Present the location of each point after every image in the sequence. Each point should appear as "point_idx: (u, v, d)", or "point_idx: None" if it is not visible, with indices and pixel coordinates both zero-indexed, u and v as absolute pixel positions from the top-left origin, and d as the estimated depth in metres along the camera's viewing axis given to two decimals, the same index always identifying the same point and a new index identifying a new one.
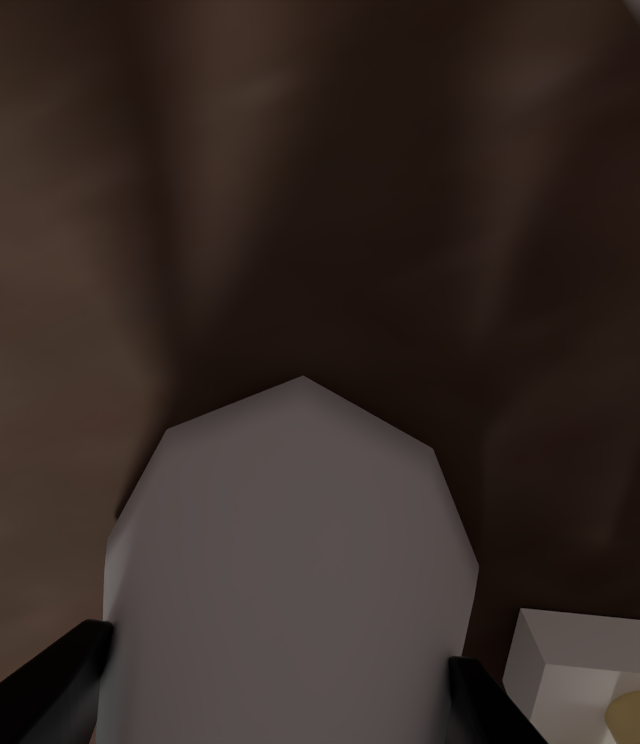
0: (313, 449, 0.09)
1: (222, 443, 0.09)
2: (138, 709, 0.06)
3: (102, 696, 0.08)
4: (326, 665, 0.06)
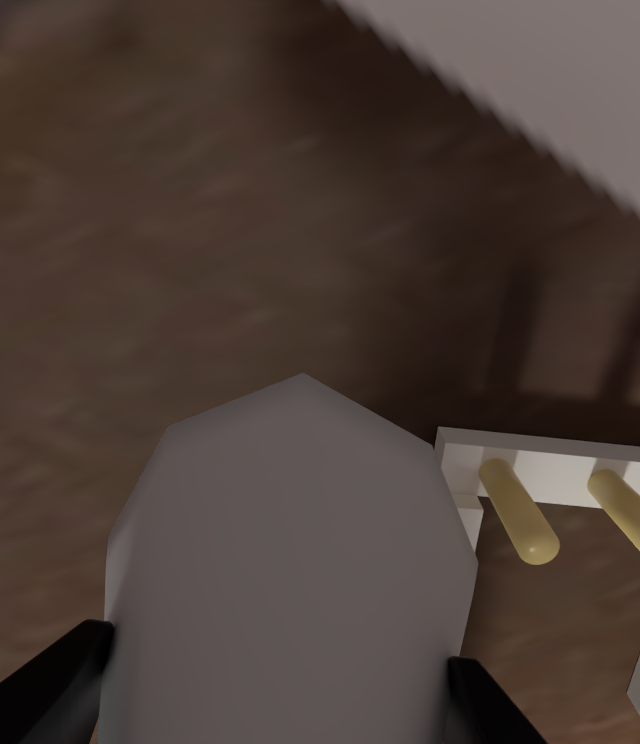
0: (313, 445, 0.09)
1: (222, 439, 0.10)
2: (140, 701, 0.06)
3: (104, 690, 0.08)
4: (326, 657, 0.06)
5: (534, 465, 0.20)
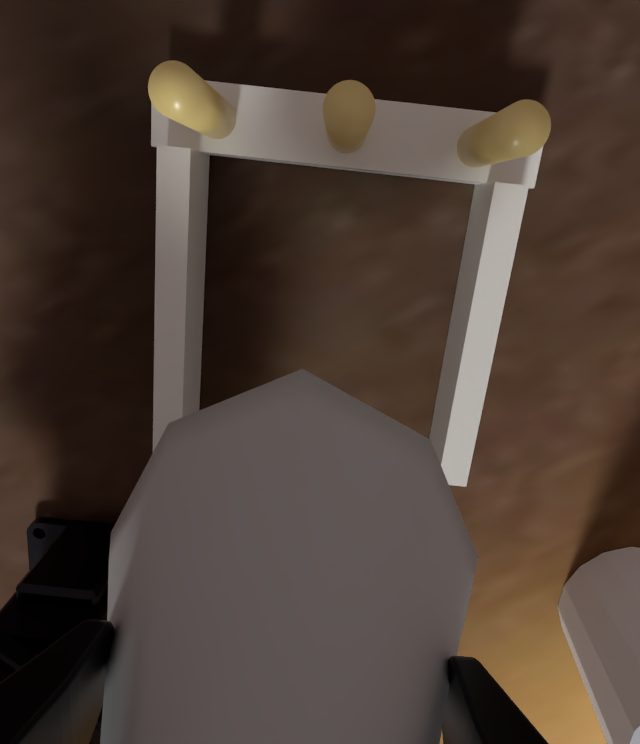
0: (312, 440, 0.09)
1: (223, 435, 0.10)
2: (143, 691, 0.06)
3: (108, 681, 0.08)
4: (326, 646, 0.07)
5: (261, 106, 0.17)
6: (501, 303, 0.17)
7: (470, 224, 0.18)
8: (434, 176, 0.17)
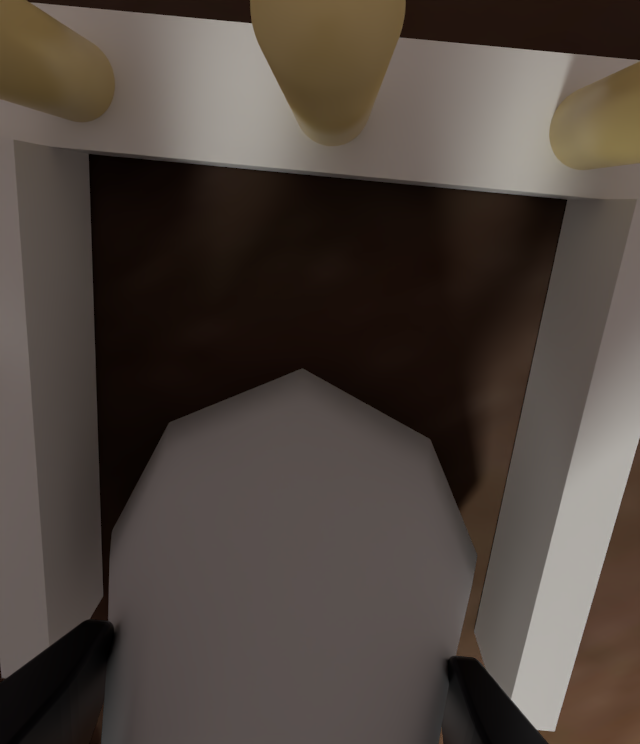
0: (312, 439, 0.09)
1: (223, 434, 0.10)
2: (144, 688, 0.07)
3: (109, 680, 0.08)
4: (326, 644, 0.07)
5: (162, 55, 0.08)
6: (635, 430, 0.09)
7: (560, 272, 0.10)
8: (504, 188, 0.09)
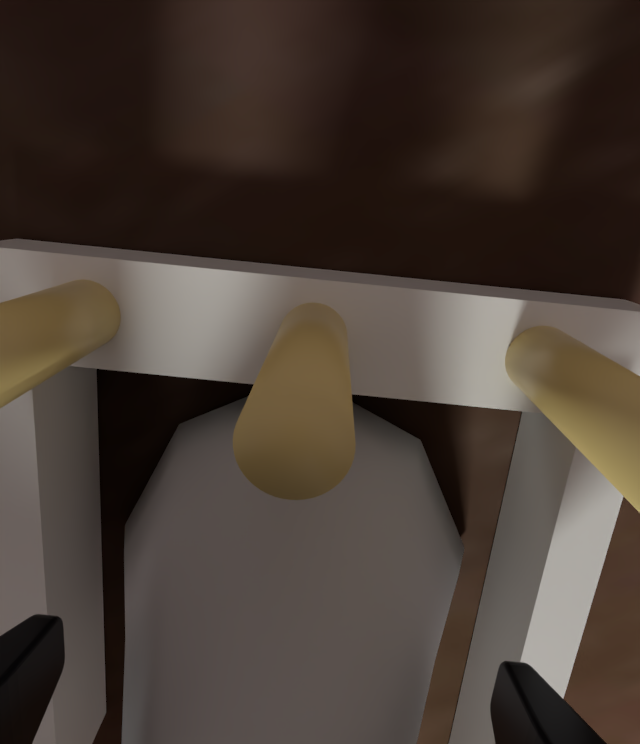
0: None
1: (230, 435, 0.11)
2: (162, 659, 0.07)
3: (127, 656, 0.09)
4: (323, 621, 0.07)
5: (163, 295, 0.09)
6: (582, 617, 0.10)
7: (521, 453, 0.11)
8: (465, 404, 0.10)
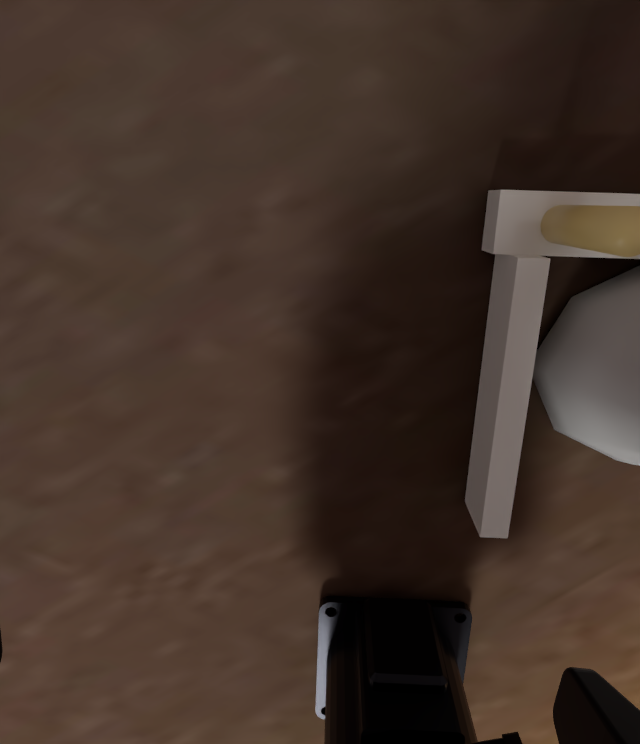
0: None
1: (623, 293, 0.18)
2: None
3: (617, 397, 0.17)
4: None
5: None
6: None
7: None
8: None
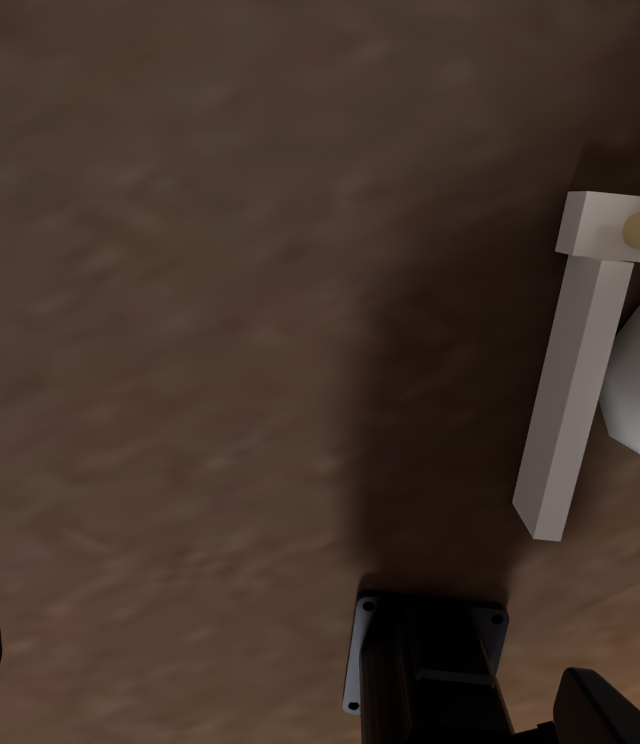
0: None
1: None
2: None
3: None
4: None
5: None
6: None
7: None
8: None
